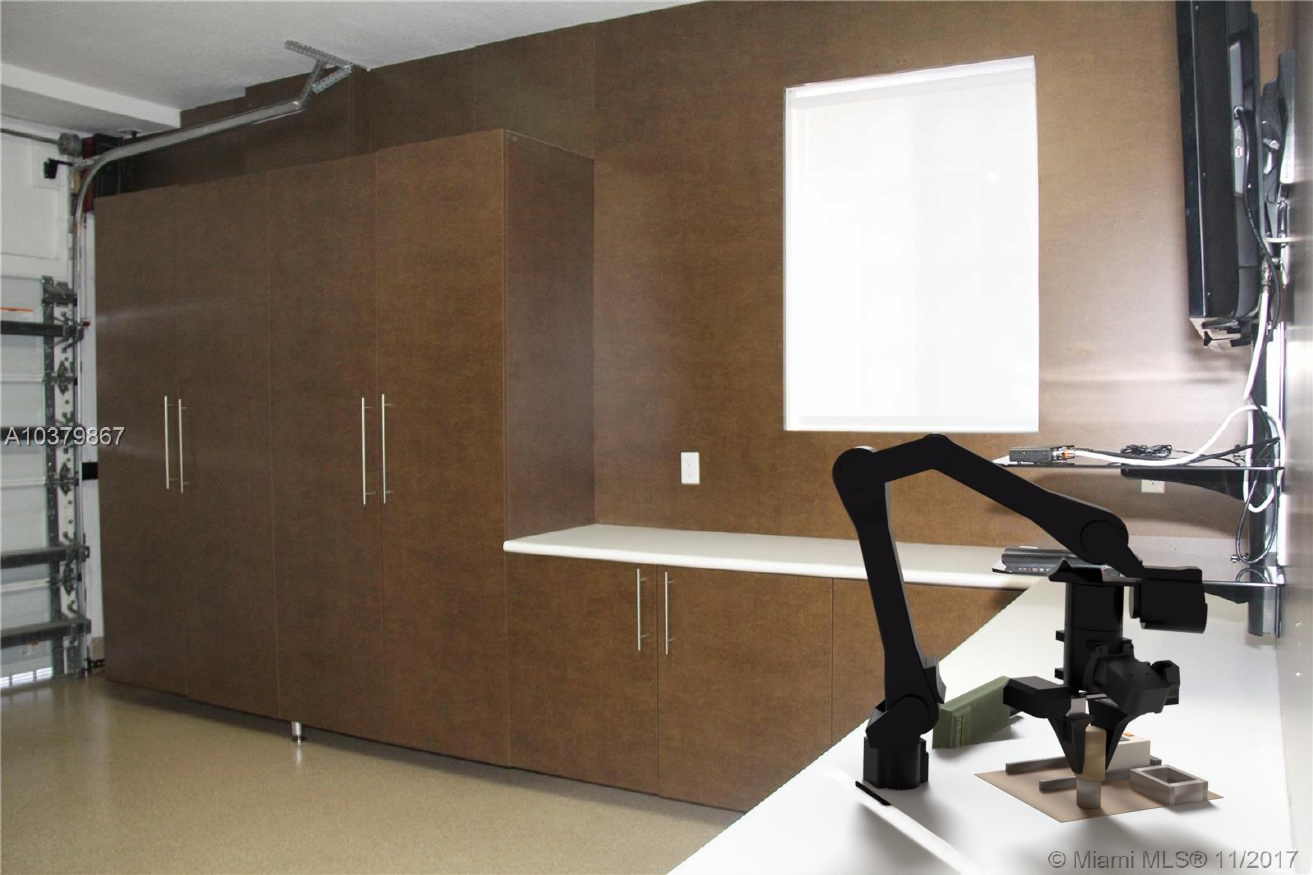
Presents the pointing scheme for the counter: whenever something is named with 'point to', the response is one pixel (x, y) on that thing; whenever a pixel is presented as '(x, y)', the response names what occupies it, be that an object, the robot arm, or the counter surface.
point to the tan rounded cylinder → (1092, 769)
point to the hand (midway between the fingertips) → (1089, 771)
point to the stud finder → (1130, 752)
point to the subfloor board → (1121, 790)
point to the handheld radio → (973, 716)
